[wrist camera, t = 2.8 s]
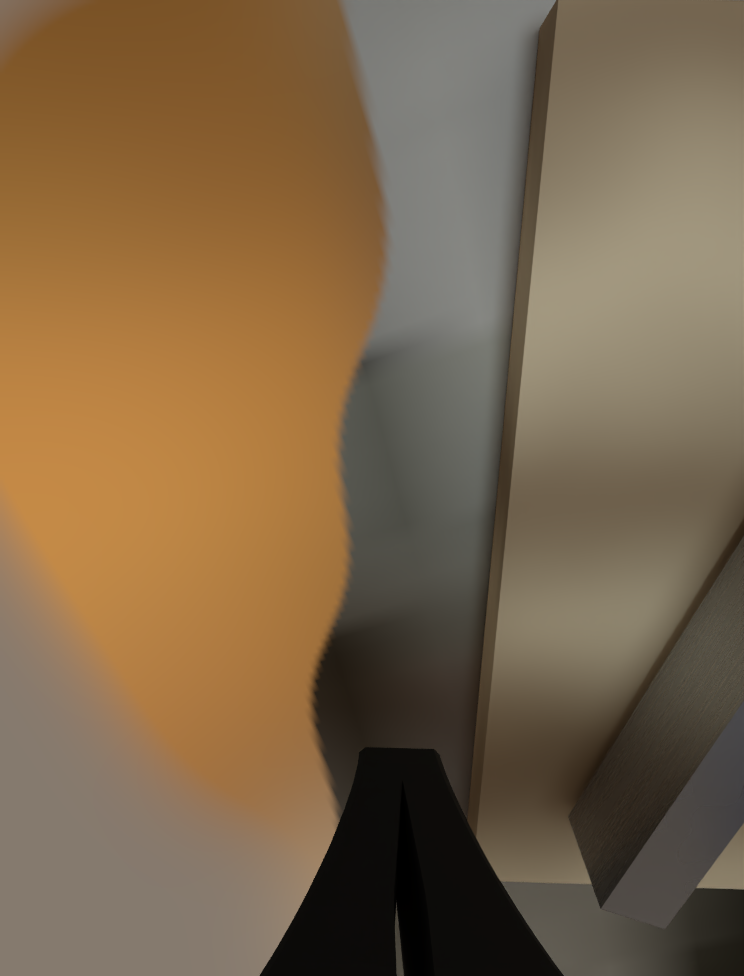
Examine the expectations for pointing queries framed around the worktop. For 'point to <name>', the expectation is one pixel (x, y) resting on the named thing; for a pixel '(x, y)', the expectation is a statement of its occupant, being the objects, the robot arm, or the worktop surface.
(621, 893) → the bar
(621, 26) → the board
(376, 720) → the worktop surface
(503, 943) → the robot arm
